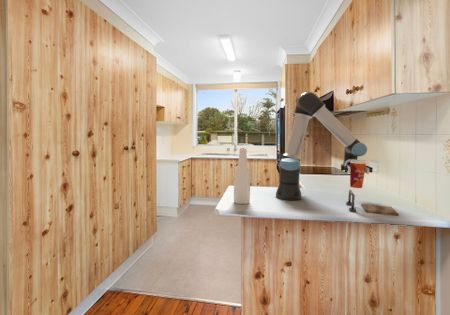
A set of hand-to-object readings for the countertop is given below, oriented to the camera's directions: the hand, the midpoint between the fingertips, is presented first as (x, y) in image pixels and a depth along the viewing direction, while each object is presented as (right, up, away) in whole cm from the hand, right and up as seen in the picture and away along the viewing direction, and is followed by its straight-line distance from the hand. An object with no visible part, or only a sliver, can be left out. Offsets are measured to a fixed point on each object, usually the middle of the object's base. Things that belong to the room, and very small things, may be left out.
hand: (358, 170), depth 126 cm
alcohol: (-58, -18, +13) cm, 62 cm away
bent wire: (-1, -20, +7) cm, 21 cm away
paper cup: (+1, -9, +5) cm, 10 cm away
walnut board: (+12, -20, +3) cm, 24 cm away
